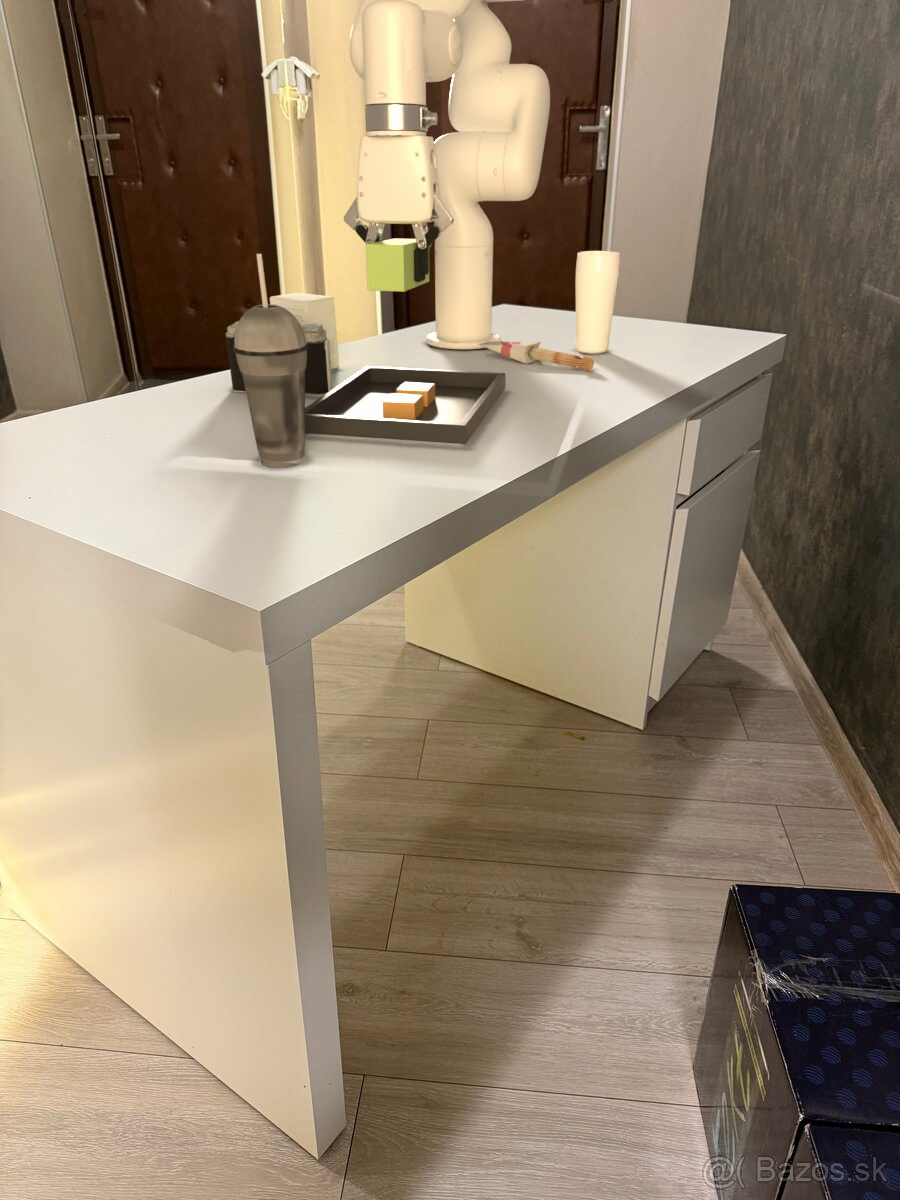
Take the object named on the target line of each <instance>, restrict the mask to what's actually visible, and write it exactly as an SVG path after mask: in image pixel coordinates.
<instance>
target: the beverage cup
mask: <svg viewBox="0 0 900 1200" xmlns="http://www.w3.org/2000/svg"><path fill="white" fill-rule="evenodd" d="M256 262H257V270H258V271H257V272H258V278H259V287H260V295H261V302H262V304H257V305H255V306H253V307H251V308H250V309H248V310H247V311H246V312H244V313H243V314H242V316H241V317H240V319H239V320H238V321H239V322H238V325H237V327H236V331H235V337H234V343H235V345H234V349H233V350H234V352H235V353H236V357H237V362H238V365H239V368H240V371H241V372H242V375H243V380H244V385H245V390H246V392H245V394H246V399H247V404H248V410H249V415H250V420H251V425H252V429H253V434H254V440H255V444H256V445H255V446H256V449H257V452H258V455H259V459H260V464H261V465H262V466H264V467H267V468H274V469H283V468H284V469H285V468H292V467H295V466H299V465H300V463H294V462H296V461H298V460H301V459H303V457H304V456H305V446H306V433H305V408H306V393H305V369H306V364H307V349H308V344H307V343H306V337H305V334H304V331H303V329H302V326H301V324H300V323H299V321H298V320H297V318H296V317H295V316H294V315H293V314H292V313H291V312H290V311H288V310H287V309H285V308H284V307H281V306H279V305H274V304H270V303H269V301H268V294H267V284H266V276H265V268H264V260H263V254H262V253H256ZM291 462H293V463H291Z"/></svg>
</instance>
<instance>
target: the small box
mask: <svg viewBox="0 0 900 1200" xmlns="http://www.w3.org/2000/svg"><path fill="white" fill-rule="evenodd" d="M269 304H274V305H279V306H281V307H284V308H285V309H287V310H288V311H290V312H291V313H292V314H293V315H294V316H295V317H296V318H297V320H298V321H299V323H300V324H301V326H303V325H306V324H321V325H323V329H326V338H327V340H329V346H330V360H331V370H332V369H337V368H340V358H339V345H338V333H337V322H336V321H337V320H336V310H335V309H336V307H335V297H334V296H330V295H320V294H313V293H312V294H311V293H303V292H292V293H287V294H286V293H285V294H278V295H273V296H270V297H269Z"/></svg>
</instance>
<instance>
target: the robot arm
mask: <svg viewBox="0 0 900 1200" xmlns="http://www.w3.org/2000/svg"><path fill="white" fill-rule="evenodd" d="M519 1H523V0H363V1H362V3H361V4H360V7H359V9H358V10H357V13H356V16H355V18H354V20H353V23H352V25H351V30H350V35H349V57H350V61H351V63H352V67H353V69H354V71H355V72H356V74H357V76H359V77H360V78H361V79H362V80H363V83H364V84H363V85H364V87H363V89H364V106H365V108H364V111H365V114H364V115H365V135H363V136H361V137H360V144H359V153H358V162H357V174H356V175H357V176H356V177H357V179H356V197H355V199H354V200H353V202H352V204H350V207H348V209H347V211H346V213H345V215H344V216H343V221H344V223H345V224H346V225H348V226H349V227H350V229H352V230H353V231H354V232H355V233H356V235H358V236H359V238H360V239H361V241H363V242H364V243H365V245H366V244H370V243H375V242H380V241H382V239H383V234H384V230H385V226H386V224H393V225H394V224H395V225H411V226H412V230H413V234H414V239H416V241H417V244H416V249H415V250H414V280H415V281H416V282H421V281H423V280H425V275H427V274H428V273H429V274H430V247H431V246H432V244H433V243H434V284H435V285H434V287H435V289H434V290H435V293H434V295H435V297H434V298H435V299H434V300H435V301H434V302H435V332H432V333H431V332H430V333H429V334H427V336H426V343H427V344H428V345H429V346H431V347H435V348H438V349H439V348H440V349H447V350H480V349H487V348H486V347H483V346H481V345H478V344H482V343H486V342H501V336H500V335H499V334H498V333H497V332H496V333H495V332H493V331H492V322H493V320H492V319H493V317H492V313H493V274H494V273H493V272H494V271H493V270H494V269H493V268H494V267H493V266H494V263H493V262H494V231H493V226H492V224H491V221H490V220H489V217H488V216H487V215H486V213H485V212H484V210H483V209H482V207H481V206H480V204H479V202H521V201H525V200H528V199H529V198H531V197H532V196H533V194H534V193H535V191H536V189H537V186H538V185H539V184H538V183H539V179H540V174H541V169H542V163H543V155H544V149H545V142H546V138H547V136H546V135H547V131H548V124H549V117H550V109H551V89H550V88H551V87H550V81H549V79H548V76H547V73H546V72H545V71H544V70H543V68H541V67H540V66H538V65H536V64H531V63H510V62H511V56H512V55H511V54H512V40H511V37H510V35H509V33H508V31H507V30H506V28H505V26H504V25H503V23H502V21H501V20H500V19H499V18H498V16H497V15H496V14H495V13H494V12H493V11H492V10H491V9H490V8H489V6H488V3H499V2H500V3H502V2H519ZM450 78H452V79H451V83H450V90H449V97H448V109H447V113H448V119H449V122H450V124H451V126H452V127H453V129H454V130H455V132H450V133H446V134H442V135H441V136H439V137H438V138H436V139H435V141H434V137H433V136H427V132H428V131H429V128H430V127H432V126H437V125H438V118H439V117H438V113H437V112H432V111H429V110H428V107H426V106H427V83H436V82H437V83H438V82H442V81H446V80H448V79H450ZM456 131H457V132H456ZM362 221H363V222H365V223H369V225H366V224H364V223H363V222H362ZM433 222H434V224H433V226H431V227H430V228H429V226H428V223H433Z"/></svg>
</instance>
